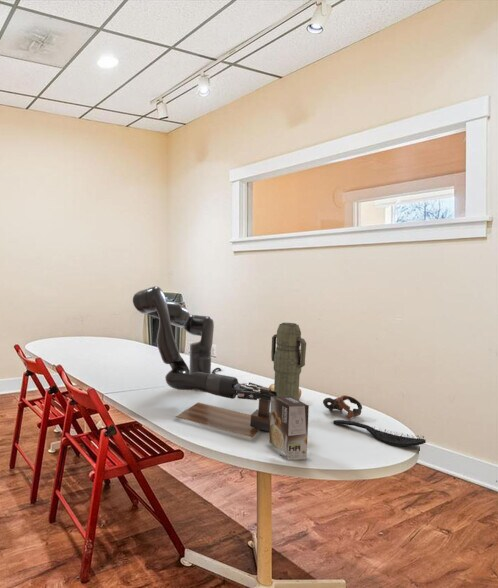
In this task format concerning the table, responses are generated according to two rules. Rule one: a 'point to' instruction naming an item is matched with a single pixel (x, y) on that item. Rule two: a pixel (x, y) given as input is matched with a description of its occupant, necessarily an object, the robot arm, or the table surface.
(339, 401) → the brown looped piece
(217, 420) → the cutting board
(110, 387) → the table surface
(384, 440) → the hairbrush
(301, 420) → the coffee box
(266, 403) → the wooden post on base
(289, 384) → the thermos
